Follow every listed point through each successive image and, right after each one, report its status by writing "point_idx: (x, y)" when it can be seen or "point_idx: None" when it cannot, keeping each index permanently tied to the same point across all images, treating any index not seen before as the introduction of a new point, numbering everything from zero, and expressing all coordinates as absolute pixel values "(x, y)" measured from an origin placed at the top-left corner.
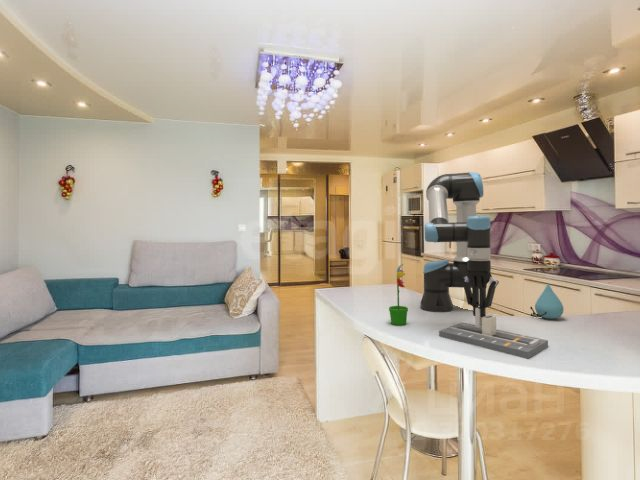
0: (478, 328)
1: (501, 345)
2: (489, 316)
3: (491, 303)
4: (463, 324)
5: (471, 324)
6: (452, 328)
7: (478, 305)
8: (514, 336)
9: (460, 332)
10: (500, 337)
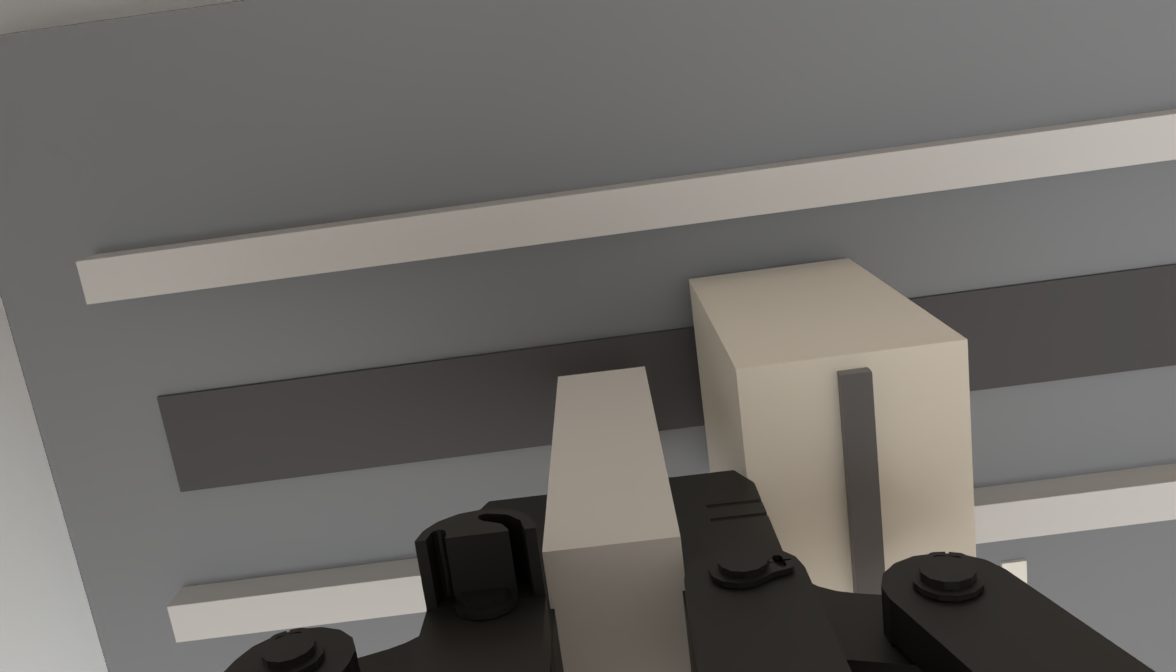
0: (473, 249)
1: (1163, 667)
2: (869, 487)
3: (1058, 621)
4: (154, 290)
5: (143, 17)
6: (226, 634)
7: (547, 617)
8: (1152, 156)
9: (401, 617)
10: (981, 353)
